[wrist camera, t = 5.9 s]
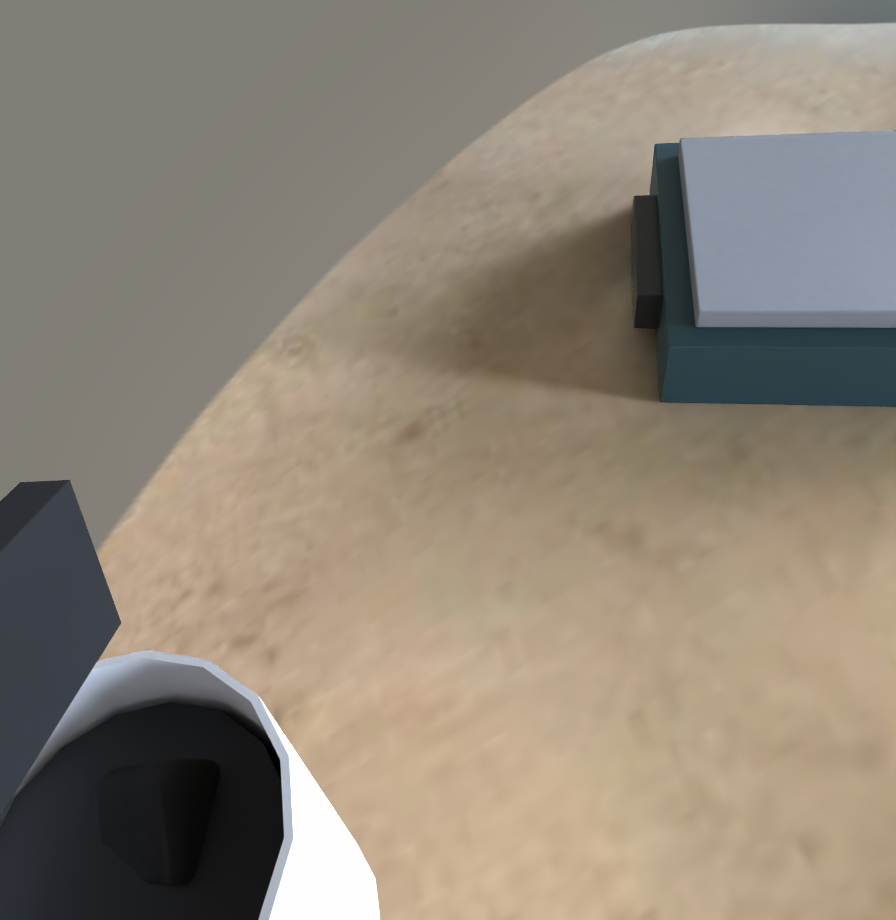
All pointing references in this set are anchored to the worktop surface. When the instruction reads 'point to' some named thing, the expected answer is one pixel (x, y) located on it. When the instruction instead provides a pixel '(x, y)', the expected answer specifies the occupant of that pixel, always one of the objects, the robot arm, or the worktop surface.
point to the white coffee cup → (175, 809)
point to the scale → (770, 268)
